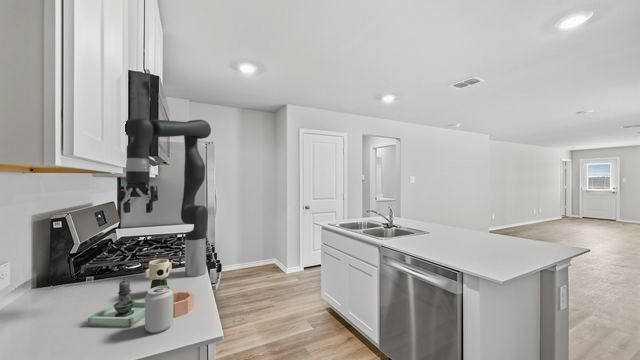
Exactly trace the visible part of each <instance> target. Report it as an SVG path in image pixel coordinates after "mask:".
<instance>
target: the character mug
mask: <svg viewBox="0 0 640 360" xmlns="http://www.w3.org/2000/svg"><path fill="white" fill-rule="evenodd" d="M172 267H173V266H172V262H170V260H169V259H168V258H159V259H154V260H150V261H149V262H148V268H147V269H145V272H144V274H145V275H144V277H145V278H146V279H149V280H151V283H150V287H149V290H150V289H152V288H154V287H158V286H168V281H167V278H168V276H169V275H170V271H171V270H172V269H173V268H172Z"/></svg>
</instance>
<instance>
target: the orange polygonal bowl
mask: <svg viewBox="0 0 640 360" xmlns="http://www.w3.org/2000/svg"><path fill="white" fill-rule="evenodd" d="M194 296H195V295H194V294H193V293H192V292H191V290H190V291H188V290H187V291H185V290H183V291H182V290H181V291H173V319H174V318H177V317H180V316H183V315H187V314H188V313H189V312H191V311H192V310H194V307H195V306H194Z"/></svg>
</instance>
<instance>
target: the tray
mask: <svg viewBox="0 0 640 360" xmlns="http://www.w3.org/2000/svg"><path fill="white" fill-rule="evenodd" d="M118 301H119V300H117V301H115V302H113V303H112V304H110V305H108V306H107V307H104V308H103V309H101V310H100V311H98V312H96V313H94V314H93V315H90V316H89V317H87V326H89V327H119V326H121V327H122V328H123V327H124V328H125V327H126V328H129V327H130V328H132V327H133V326H134V325H136V324H137V323H138V322H140V321H141V320H143V318H144V319H145V300H144V301H142V300H135V303H134V306H133V307H132V309H131V310H134V313H133V314H131V315H130V316H127V317H115V314H117V313H118V312H117V311H116V310H115V307H114V304H115V303H117V302H118Z"/></svg>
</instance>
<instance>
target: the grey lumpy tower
mask: <svg viewBox="0 0 640 360" xmlns="http://www.w3.org/2000/svg"><path fill="white" fill-rule="evenodd" d="M130 285H131V282H130V281H129V280H127V278H125V277H124V278H123V279H122V281H121V282H119V284H118V288H119V289H118V292H117V294H118V300H117V301H118V302H117V301H116V302H117V303H115V302H114V303H115V304H114V303H113V304H114V307H115V310H116V311H117V312H118V313H117V314H115V317H127V316H130V315H131V314H133V313H134V310H131V309H132V307H133V306H134V303H135V301H136V300H135V299H131V292H132V290H131V288H130V287H131V286H130Z"/></svg>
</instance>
